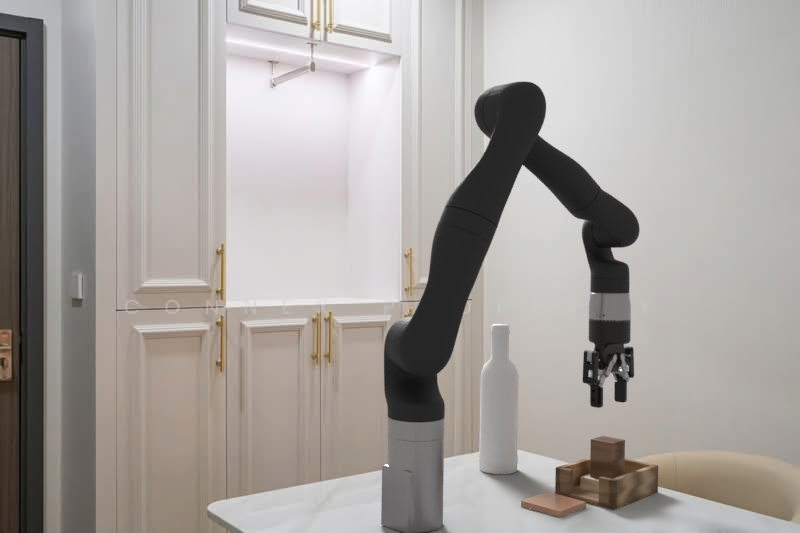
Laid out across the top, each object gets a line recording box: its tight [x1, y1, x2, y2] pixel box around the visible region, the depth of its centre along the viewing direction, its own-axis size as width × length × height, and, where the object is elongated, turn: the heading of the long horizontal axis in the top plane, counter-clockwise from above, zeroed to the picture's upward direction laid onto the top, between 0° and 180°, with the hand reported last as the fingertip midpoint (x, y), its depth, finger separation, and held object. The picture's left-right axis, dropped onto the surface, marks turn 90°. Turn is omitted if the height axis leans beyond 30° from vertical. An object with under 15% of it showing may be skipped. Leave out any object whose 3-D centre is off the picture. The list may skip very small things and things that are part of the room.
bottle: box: [478, 323, 519, 475], centre depth 158 cm, size 8×8×30 cm
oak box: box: [554, 457, 659, 511], centre depth 142 cm, size 16×12×5 cm
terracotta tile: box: [520, 491, 587, 518], centre depth 133 cm, size 8×8×1 cm
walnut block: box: [589, 435, 626, 479], centre depth 142 cm, size 4×4×7 cm
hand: (608, 404), depth 142 cm, fingers open, 8 cm apart
